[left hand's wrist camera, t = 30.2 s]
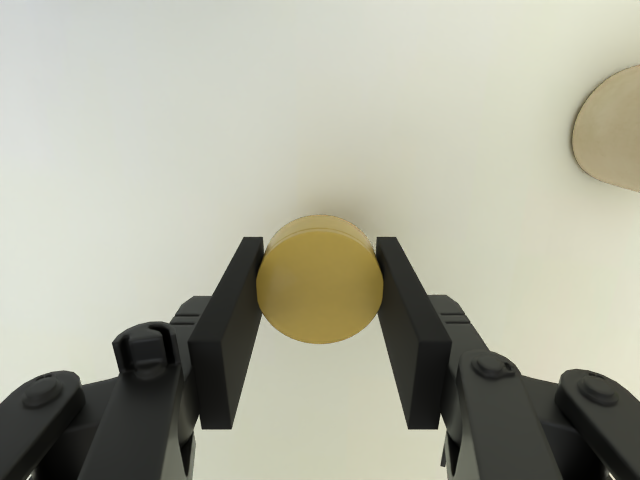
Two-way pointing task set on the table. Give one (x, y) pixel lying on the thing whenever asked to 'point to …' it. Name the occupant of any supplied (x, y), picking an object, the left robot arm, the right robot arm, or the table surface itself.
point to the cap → (319, 280)
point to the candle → (611, 131)
